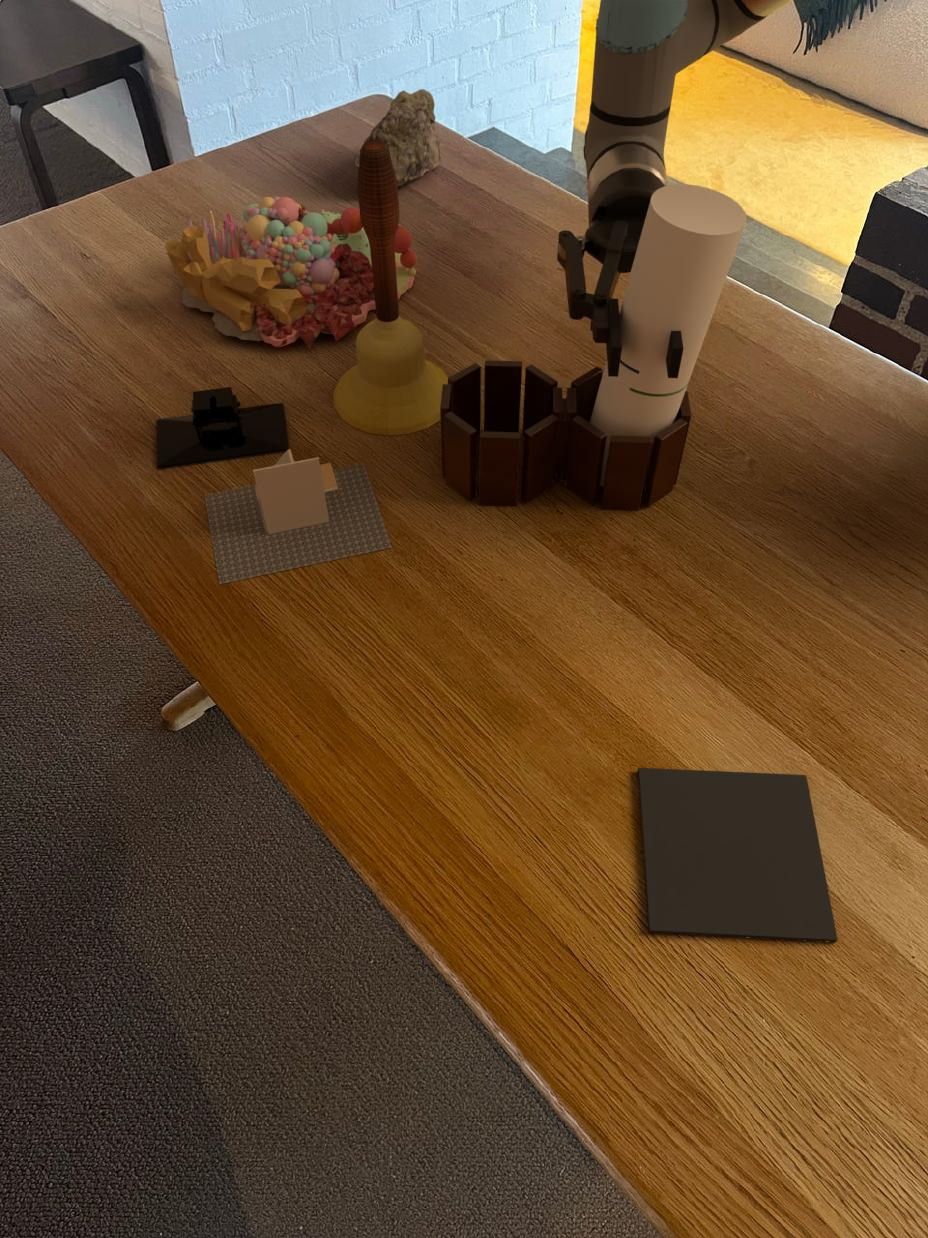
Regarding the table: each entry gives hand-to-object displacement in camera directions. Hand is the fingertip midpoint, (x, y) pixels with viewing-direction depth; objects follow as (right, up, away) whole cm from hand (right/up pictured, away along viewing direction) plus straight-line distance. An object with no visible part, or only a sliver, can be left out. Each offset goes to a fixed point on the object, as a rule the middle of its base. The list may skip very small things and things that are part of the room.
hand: (645, 362), depth 74 cm
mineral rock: (-23, +38, +51) cm, 68 cm away
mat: (+4, -36, -8) cm, 37 cm away
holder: (-5, -6, +16) cm, 18 cm away
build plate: (-37, -2, +19) cm, 42 cm away
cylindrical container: (0, -6, +16) cm, 17 cm away
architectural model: (-29, -11, +12) cm, 33 cm away
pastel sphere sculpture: (-33, +18, +35) cm, 52 cm away
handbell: (-21, +3, +23) cm, 31 cm away
